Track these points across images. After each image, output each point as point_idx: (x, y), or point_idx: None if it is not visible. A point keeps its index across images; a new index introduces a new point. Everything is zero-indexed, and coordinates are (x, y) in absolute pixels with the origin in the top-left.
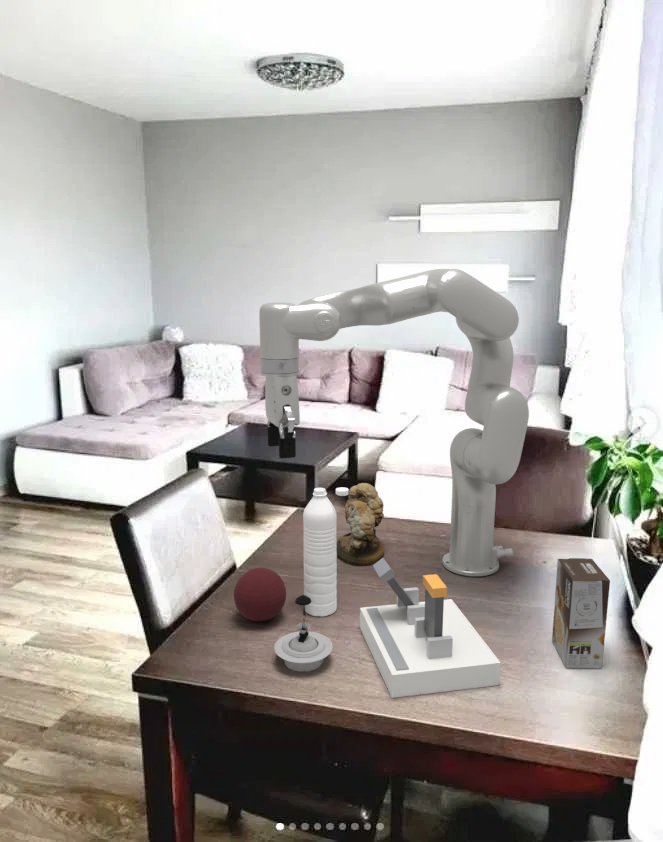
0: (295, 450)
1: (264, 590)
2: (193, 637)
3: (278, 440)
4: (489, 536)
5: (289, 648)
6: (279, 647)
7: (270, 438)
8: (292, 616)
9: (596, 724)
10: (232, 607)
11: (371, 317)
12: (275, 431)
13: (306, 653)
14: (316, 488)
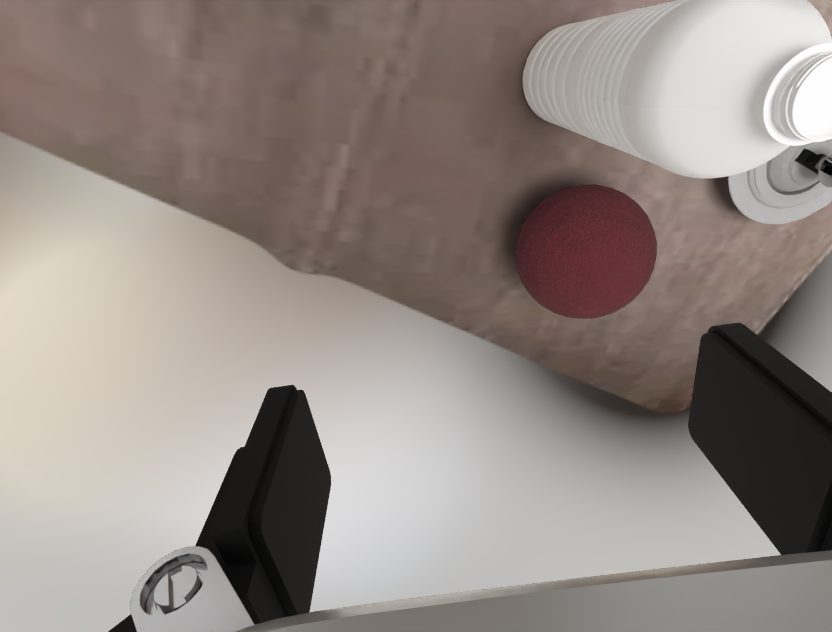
0: (774, 350)
1: (655, 257)
2: (596, 356)
3: (304, 449)
4: None
5: (804, 194)
6: (774, 213)
7: (318, 523)
8: (578, 157)
9: None
10: (497, 289)
11: None
12: (294, 548)
13: None
14: (793, 118)
